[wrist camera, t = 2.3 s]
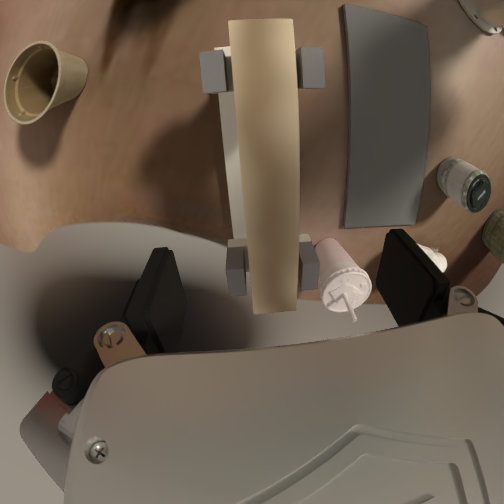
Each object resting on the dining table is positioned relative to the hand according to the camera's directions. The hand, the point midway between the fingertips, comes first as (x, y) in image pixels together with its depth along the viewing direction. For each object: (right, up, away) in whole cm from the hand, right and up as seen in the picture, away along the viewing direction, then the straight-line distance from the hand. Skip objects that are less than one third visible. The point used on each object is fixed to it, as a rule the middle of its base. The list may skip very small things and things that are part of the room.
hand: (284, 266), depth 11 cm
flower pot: (-24, +23, +12) cm, 35 cm away
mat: (+16, +17, +17) cm, 29 cm away
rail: (0, +7, +10) cm, 13 cm away
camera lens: (+29, +12, +20) cm, 37 cm away
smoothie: (+9, +1, +27) cm, 29 cm away
